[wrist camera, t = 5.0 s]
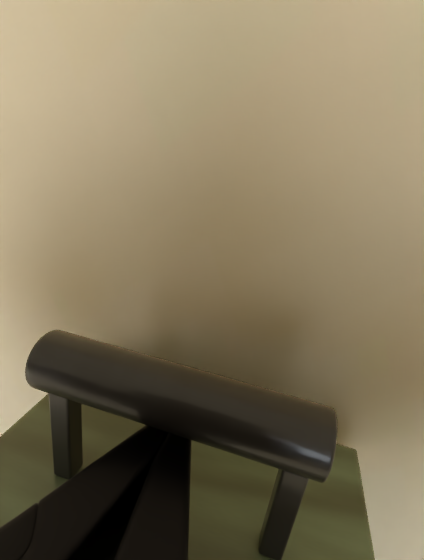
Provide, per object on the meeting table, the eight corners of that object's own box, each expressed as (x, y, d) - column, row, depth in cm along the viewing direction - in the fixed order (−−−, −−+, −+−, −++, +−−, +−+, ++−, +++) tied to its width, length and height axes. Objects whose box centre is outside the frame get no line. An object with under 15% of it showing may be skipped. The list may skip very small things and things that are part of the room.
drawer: (76, 265, 12) (-150, 367, 6) (400, 340, 10) (543, 619, 4) (83, 545, 19) (-26, 734, 13) (284, 631, 16) (270, 914, 10)
